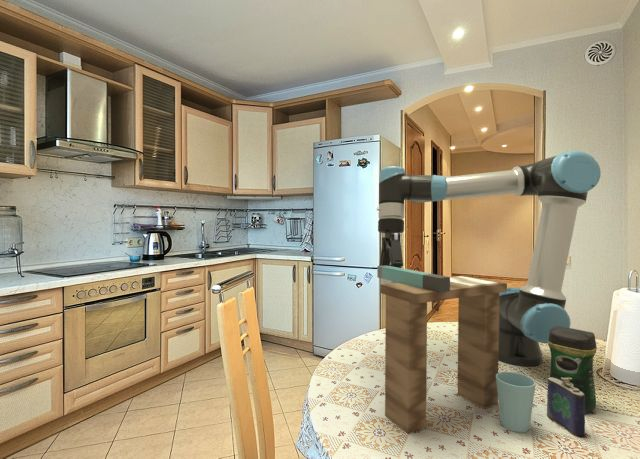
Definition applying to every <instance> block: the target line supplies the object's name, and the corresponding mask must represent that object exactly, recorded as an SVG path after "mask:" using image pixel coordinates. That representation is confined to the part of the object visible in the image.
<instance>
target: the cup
mask: <svg viewBox="0 0 640 459" xmlns="http://www.w3.org/2000/svg"><path fill="white" fill-rule="evenodd" d="M496 383H497V392H498V408H499V411H498V412H499V420H500V424H501V426H503V427H504V428H505V429H506V430H509V431H512V432H514V433H521V434H522V433H527V432H529V430H530V427H531V426H530V425H531V419H532V413H533V404H534V398H535V390H536V385H537V384H536V381H535V380H534V378H532V377H531V376H528V375H526V374H523V373H519V372H514V371H501V372H499V371H498V373H497V374H496Z"/></svg>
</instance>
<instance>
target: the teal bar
mask: <svg viewBox="0 0 640 459" xmlns="http://www.w3.org/2000/svg"><path fill="white" fill-rule="evenodd" d="M376 274H377V278H378V279H381V278H382V279H386V280H390V281H394V282H398V283H402V284H406V285H411V286H415V287H419V288H423V289H427V290H431V291H435V292H447V291H450V277H451V276H448V275H447V276H446V275H440V274H435V273H430V272H425V271H424V272H423V271H420V270H414V269H408V268H402V267H401V268H398V267H393V266H387V265H386V266H379V265H378V266H377V273H376Z"/></svg>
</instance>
